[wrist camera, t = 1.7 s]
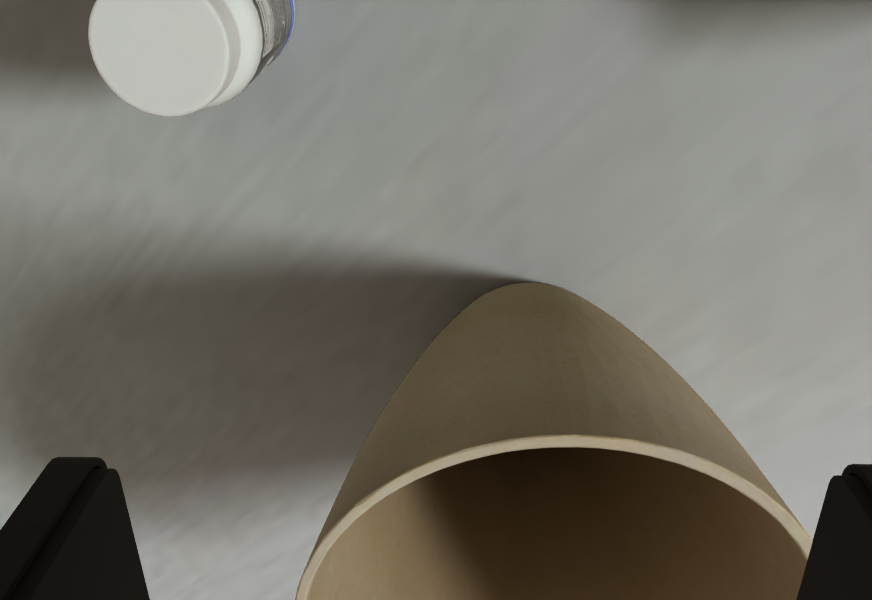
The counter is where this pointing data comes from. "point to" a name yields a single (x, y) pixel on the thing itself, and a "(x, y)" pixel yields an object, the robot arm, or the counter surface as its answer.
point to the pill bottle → (185, 49)
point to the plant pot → (552, 474)
